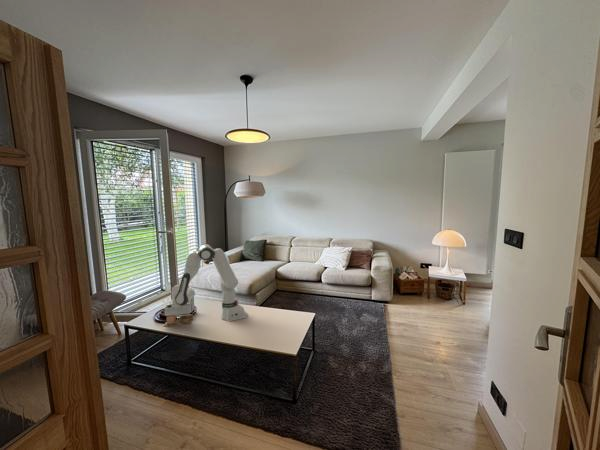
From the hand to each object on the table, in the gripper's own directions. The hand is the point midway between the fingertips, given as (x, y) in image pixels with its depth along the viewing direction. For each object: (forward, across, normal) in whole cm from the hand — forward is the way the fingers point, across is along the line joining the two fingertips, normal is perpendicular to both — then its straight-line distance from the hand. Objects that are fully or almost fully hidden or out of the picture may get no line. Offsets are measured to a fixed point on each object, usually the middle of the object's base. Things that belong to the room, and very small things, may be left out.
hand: (178, 319), depth 212 cm
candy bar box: (+3, -4, -19) cm, 20 cm away
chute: (+3, 0, 0) cm, 3 cm away
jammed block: (+3, +6, 0) cm, 6 cm away
